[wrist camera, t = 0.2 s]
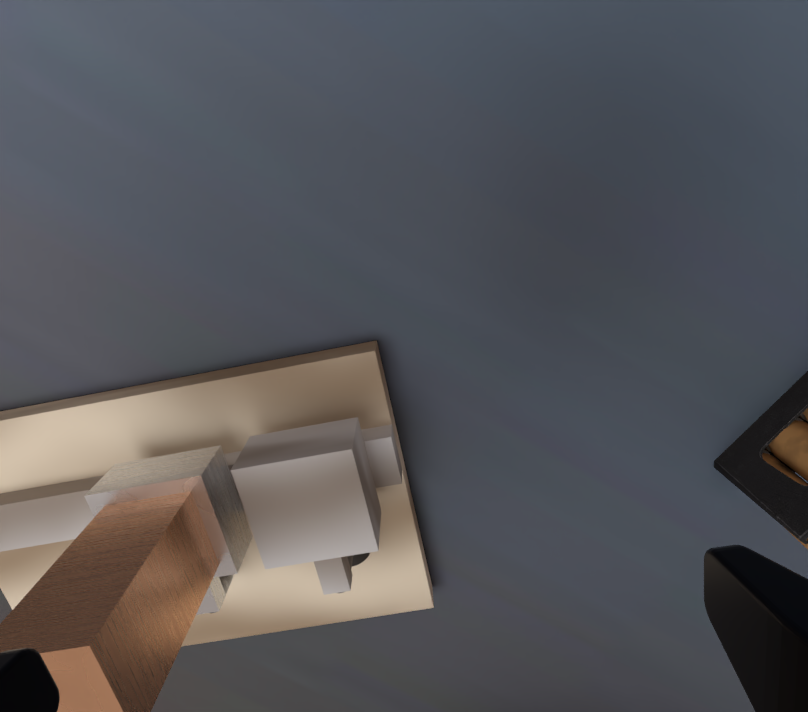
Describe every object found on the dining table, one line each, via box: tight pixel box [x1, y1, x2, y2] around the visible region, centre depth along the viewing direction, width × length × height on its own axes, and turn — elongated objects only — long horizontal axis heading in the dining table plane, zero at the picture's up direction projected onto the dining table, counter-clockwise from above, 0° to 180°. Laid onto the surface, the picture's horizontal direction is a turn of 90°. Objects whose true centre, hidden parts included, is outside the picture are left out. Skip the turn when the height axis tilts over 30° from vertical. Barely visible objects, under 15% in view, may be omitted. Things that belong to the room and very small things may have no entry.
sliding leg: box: [0, 445, 253, 712], centre depth 17 cm, size 6×4×9 cm, turn 11°
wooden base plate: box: [0, 341, 434, 646], centre depth 21 cm, size 12×18×4 cm, turn 101°
